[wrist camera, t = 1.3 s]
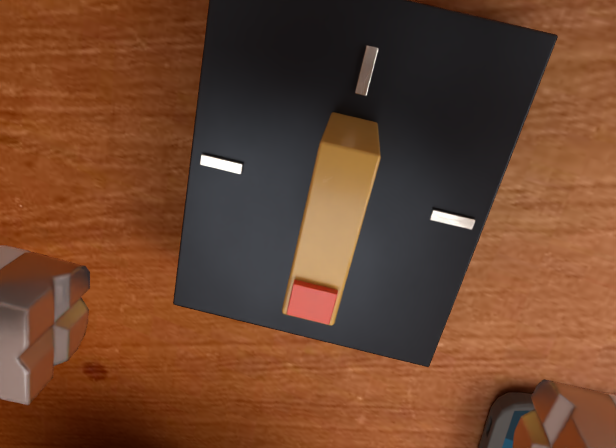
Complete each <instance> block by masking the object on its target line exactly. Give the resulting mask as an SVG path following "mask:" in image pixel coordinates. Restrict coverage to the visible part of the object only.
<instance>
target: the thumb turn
mask: <svg viewBox="0 0 616 448" xmlns="http://www.w3.org/2000/svg"><path fill="white" fill-rule="evenodd" d="M380 159H381V156H380V144H379V132H378V123H376V122H373V121H369V120H364V119H360V118H356V117H352V116H347V115H343V114H339V113H335V112H333V113H331V115H330V117H329V120H328V123H327V125H326V128H325V130H324V133H323V136H322V138H321V141H320V143H319V148H318V152H317V156H316V161H315V165H314V170H313V174H312V179H311V183H310V187H309V192H308V196H307V201H306V205H305V210H304V214H303V218H302V223H301V227H300V232H299V236H298V241H297V245H296V249H295V254H294V258H293V263H292V267H291V272H290V276H289V280H288V285H287V289H286V294H285V298H284V303H283V307H282V313H283V314H286V315H290V316H294V317H298V318H302V319H306V320H310V321H314V322H318V323H322V324H326V325H330V326H331V325H333V324H334V323H335V319H336V316H337V312H338V309H339V305H340V302H341V298H342V294H343V291H344V287H345V284H346V280H347V277H348V273H349V269H350V266H351V262H352V259H353V255H354V252H355V248H356V244H357V241H358V237H359V234H360V230H361V227H362V223H363V219H364V216H365V212H366V209H367V205H368V202H369V198H370V195H371V191H372V187H373V184H374V180H375V177H376V173H377V170H378V166H379V162H380Z"/></svg>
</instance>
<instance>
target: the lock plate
mask: <svg viewBox="0 0 616 448" xmlns="http://www.w3.org/2000/svg"><path fill="white" fill-rule="evenodd" d="M557 38H558V36H557V35H556V34H551V33H547V32H543V31H538V30H534V29H530V28H525V27H521V26H517V25H512V24H508V23H504V22H499V21H495V20H491V19H486V18H482V17H478V16H473V15H469V14H465V13H460V12H456V11H452V10H447V9H443V8H439V7H434V6H430V5H426V4H421V3H417V2H413V1H408V0H209V8H208V16H207V25H206V33H205V42H204V50H203V58H202V67H201V75H200V83H199V92H198V100H197V109H196V117H195V125H194V134H193V142H192V150H191V159H190V167H189V176H188V184H187V192H186V201H185V209H184V218H183V226H182V234H181V243H180V251H179V259H178V268H177V276H176V285H175V293H174V301H173V304H174V305H178V306H182V307H186V308H190V309H194V310H198V311H202V312H206V313H210V314H214V315H219V316H223V317H227V318H231V319H235V320H239V321H243V322H247V323H251V324H255V325H259V326H263V327H267V328H271V329H275V330H279V331H284V332H288V333H292V334H296V335H300V336H304V337H308V338H312V339H316V340H320V341H324V342H328V343H332V344H336V345H340V346H345V347H349V348H353V349H357V350H361V351H365V352H369V353H373V354H377V355H381V356H385V357H389V358H393V359H397V360H401V361H405V362H410V363H414V364H418V365H422V366H426V367H429V366H430V363H431V360H432V358H433V355H434V353H435V350H436V348H437V345H438V342H439V340H440V337H441V335H442V332H443V330H444V327H445V325H446V322H447V319H448V317H449V314H450V312H451V309H452V307H453V304H454V301H455V299H456V296H457V294H458V291H459V289H460V286H461V284H462V281H463V278H464V276H465V273H466V271H467V268H468V266H469V263H470V261H471V258H472V255H473V253H474V250H475V248H476V245H477V243H478V240H479V237H480V235H481V232H482V230H483V227H484V225H485V222H486V220H487V217H488V214H489V212H490V209H491V207H492V204H493V202H494V199H495V196H496V194H497V191H498V189H499V186H500V184H501V181H502V179H503V176H504V173H505V171H506V168H507V166H508V163H509V161H510V158H511V155H512V153H513V150H514V148H515V145H516V143H517V140H518V138H519V135H520V132H521V130H522V127H523V125H524V122H525V120H526V117H527V114H528V112H529V109H530V107H531V104H532V102H533V99H534V97H535V94H536V91H537V89H538V86H539V84H540V81H541V79H542V76H543V74H544V71H545V68H546V66H547V63H548V61H549V58H550V56H551V53H552V50H553V48H554V45H555V43H556V40H557ZM333 112H335V113H339V114H343V115H347V116H352V117H356V118H360V119H364V120H369V121H373V122H376V123H378V132H379V144H380V156H381V159H380V162H379V166H378V170H377V173H376V177H375V180H374V184H373V187H372V191H371V195H370V198H369V202H368V205H367V209H366V212H365V216H364V219H363V223H362V227H361V230H360V234H359V237H358V241H357V244H356V248H355V252H354V255H353V259H352V262H351V266H350V269H349V273H348V277H347V280H346V284H345V287H344V291H343V294H342V298H341V302H340V305H339V309H338V312H337V316H336V319H335V323H334V324H333V325H331V326H330V325H326V324H322V323H318V322H314V321H310V320H306V319H302V318H298V317H294V316H290V315H286V314H283V313H282V307H283V303H284V298H285V294H286V289H287V285H288V280H289V276H290V272H291V267H292V263H293V258H294V254H295V249H296V245H297V241H298V236H299V232H300V227H301V223H302V218H303V214H304V210H305V205H306V201H307V196H308V192H309V187H310V183H311V179H312V174H313V170H314V165H315V161H316V156H317V152H318V148H319V143H320V141H321V138H322V136H323V133H324V130H325V128H326V125H327V123H328V120H329V117H330V115H331V113H333Z"/></svg>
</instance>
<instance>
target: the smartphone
mask: <svg viewBox="0 0 616 448" xmlns="http://www.w3.org/2000/svg"><path fill="white" fill-rule="evenodd" d="M531 396H532V394H528V393H513V392H508V393H506V394H504V395H502V396H500V397H498V398H497V400H496V401H495V402H494V404H493V405H492V406H491V409H490V412H489V415H488V419H487V422H486V425H485V428H484V431H483V435H482V438H481V441H480V444H479V447H478V448H513V439H514V432H515V429H516V427H517V425H518V422H519V420H520V418H521V416H523V415H524V414H526V413H528V412H530V411H532V410H533V409H535V408H534V405H533V402H532V399H531Z"/></svg>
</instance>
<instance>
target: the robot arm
mask: <svg viewBox="0 0 616 448" xmlns="http://www.w3.org/2000/svg"><path fill="white" fill-rule="evenodd" d="M89 289H90V272H89V270H88V269H87V268H86V266H83V265H79V264H76V263H72V262H68V261H64V260H61V259H57V258H53V257H49V256H46V255H42V254H38V253H34V252H30V251H27V250H23V249H19V248H15V247H10V246H2V245H0V399H3V400H8V401H12V402H17V403H21V404H26V405H29V404H30V403H31V402H32V401H33V400H34V398H35V397H36V396H37V395H38V394H39V393H40V392H41V391H42V389H43V388H44V387H45V386H46V385H47V384H48V383H49V382H50V380H51V379H52V378H53V366H55V365H57V364H60V363H63V362H65V361H68V360H69V359H70V358H71V356H72V355H73V354H74V353H75V352H76V351H77V349H78V347H79V345H80V343H81V341H82V339H83V337H84V335H85V332H86V328H87V324H88V315H89V309H88V308H87V306H86V304H85V303H84V301H83V299H82V298H81V297H82V296H83V295H84V294H85V293H86V292H87V291H88V290H89ZM531 399H532V402H533V405H534V408H535V409H533V410H532V411H530V412H528V413H526V414H524V415H523V416H521V418H520V420H519V422H518V425H517V427H516V429H515V432H514V439H513V448H616V395H614V394H609V393H605V392H598V391H594V390H589V389H585V388H580V387H576V386H571V385H567V384H562V383H558V382H554V381H549V380H545V379H544V380H542V381H541V382H540V383H539V384H538V385H537V386H536V388H535V390H534V392H533V394H532V396H531Z"/></svg>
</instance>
